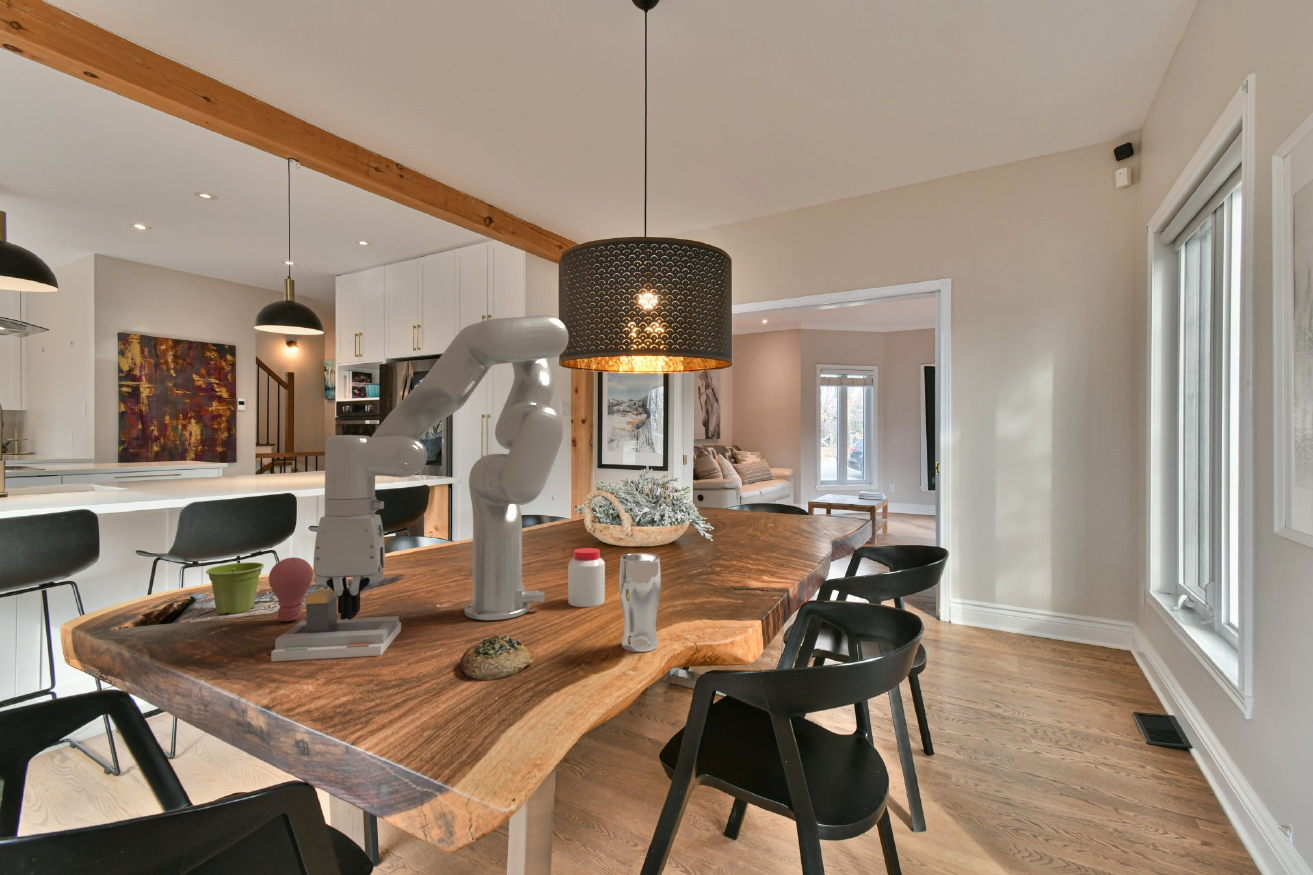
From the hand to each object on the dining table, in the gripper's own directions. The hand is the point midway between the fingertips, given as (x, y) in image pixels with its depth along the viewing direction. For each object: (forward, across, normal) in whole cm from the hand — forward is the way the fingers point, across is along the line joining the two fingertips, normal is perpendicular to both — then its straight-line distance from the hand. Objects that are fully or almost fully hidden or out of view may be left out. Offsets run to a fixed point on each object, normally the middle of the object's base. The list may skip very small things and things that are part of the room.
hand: (348, 616), depth 97 cm
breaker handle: (+3, +4, 0) cm, 5 cm away
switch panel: (+5, +1, 0) cm, 5 cm away
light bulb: (+5, +15, -15) cm, 22 cm away
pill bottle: (+5, -41, -19) cm, 45 cm away
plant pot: (+5, +29, -24) cm, 38 cm away
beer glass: (+5, -48, +8) cm, 49 cm away
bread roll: (+5, -25, +13) cm, 29 cm away
